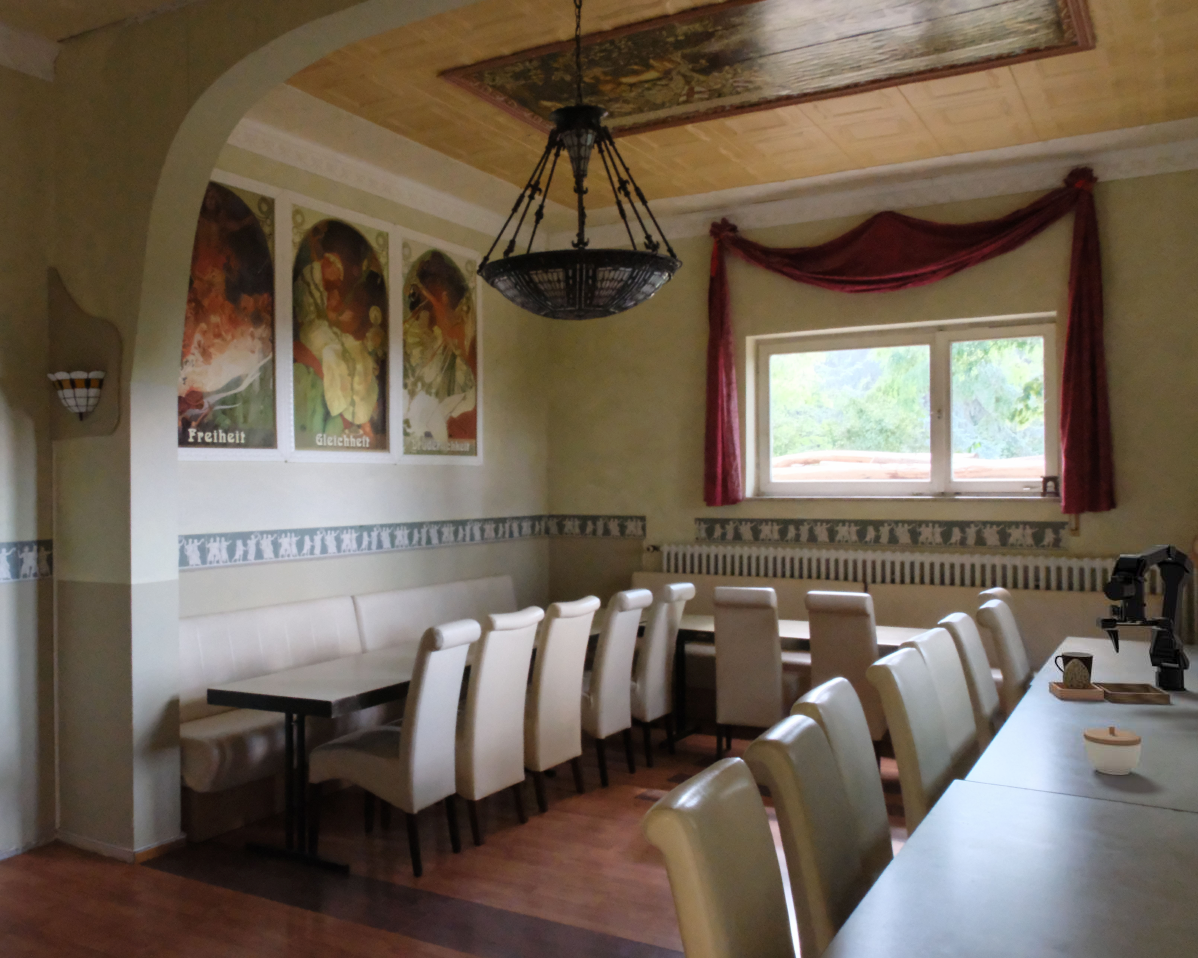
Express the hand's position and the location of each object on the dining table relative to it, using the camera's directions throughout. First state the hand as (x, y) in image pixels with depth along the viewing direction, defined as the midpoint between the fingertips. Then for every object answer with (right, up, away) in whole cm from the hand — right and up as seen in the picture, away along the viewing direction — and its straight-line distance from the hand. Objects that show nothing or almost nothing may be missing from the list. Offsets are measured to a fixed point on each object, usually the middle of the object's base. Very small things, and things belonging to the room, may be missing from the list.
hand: (1134, 653), depth 278 cm
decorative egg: (-15, -12, +3) cm, 20 cm away
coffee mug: (-9, -13, +16) cm, 23 cm away
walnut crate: (-1, -13, 0) cm, 13 cm away
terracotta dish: (-15, -13, +3) cm, 20 cm away
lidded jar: (-45, -12, -73) cm, 86 cm away
